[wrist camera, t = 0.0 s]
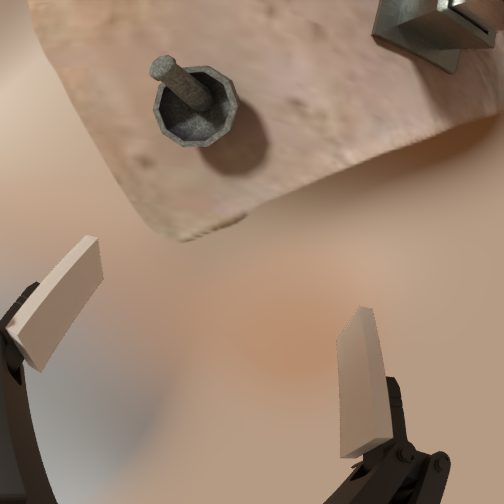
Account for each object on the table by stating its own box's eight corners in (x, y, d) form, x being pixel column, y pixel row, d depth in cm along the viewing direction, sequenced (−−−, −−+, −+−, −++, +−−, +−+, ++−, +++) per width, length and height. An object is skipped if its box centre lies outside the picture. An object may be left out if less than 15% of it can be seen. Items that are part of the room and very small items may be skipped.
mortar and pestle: (255, 124, 35) (238, 145, 25) (191, 144, 37) (153, 173, 28) (228, 47, 29) (199, 35, 19) (163, 73, 32) (115, 77, 22)
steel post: (413, -4, 19) (502, -45, 3) (443, 12, 19) (543, -8, 3) (407, 22, 22) (503, -7, 6) (437, 37, 22) (543, 31, 6)
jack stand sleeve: (386, -33, 18) (421, -67, 8) (463, 8, 19) (516, -3, 8) (371, 35, 25) (407, 17, 15) (449, 73, 25) (506, 81, 15)
